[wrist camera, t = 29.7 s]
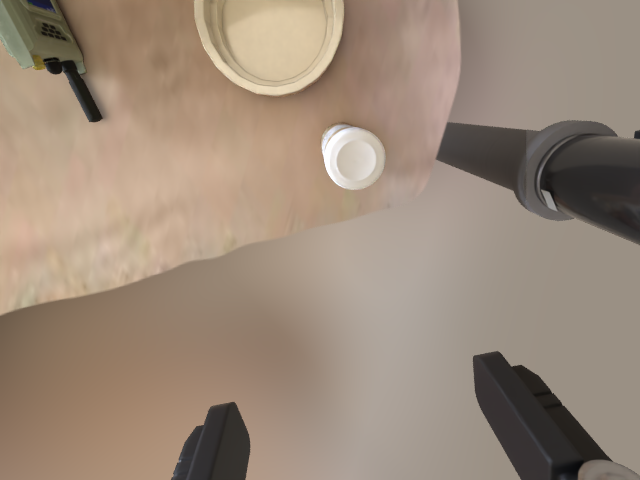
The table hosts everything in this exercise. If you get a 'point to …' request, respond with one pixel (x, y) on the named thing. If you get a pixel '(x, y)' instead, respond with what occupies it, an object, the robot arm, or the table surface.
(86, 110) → the handheld radio
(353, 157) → the sprinkles bottle
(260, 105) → the table surface
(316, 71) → the bowl
